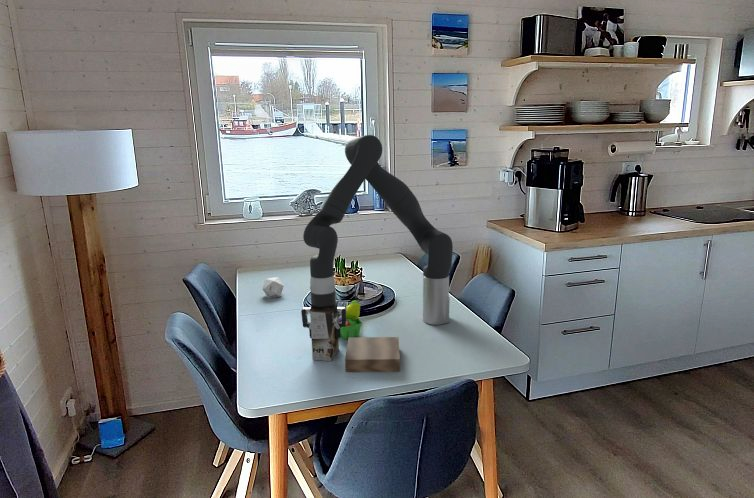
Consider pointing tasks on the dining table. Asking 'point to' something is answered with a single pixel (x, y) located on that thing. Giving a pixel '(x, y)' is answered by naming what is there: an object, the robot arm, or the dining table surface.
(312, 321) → the coffee box
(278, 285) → the die
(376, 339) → the wooden block
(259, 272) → the dining table surface
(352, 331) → the fruit basket
